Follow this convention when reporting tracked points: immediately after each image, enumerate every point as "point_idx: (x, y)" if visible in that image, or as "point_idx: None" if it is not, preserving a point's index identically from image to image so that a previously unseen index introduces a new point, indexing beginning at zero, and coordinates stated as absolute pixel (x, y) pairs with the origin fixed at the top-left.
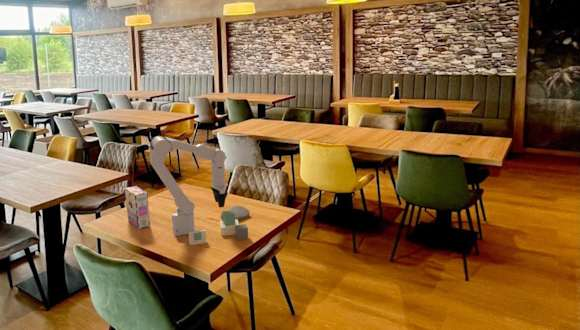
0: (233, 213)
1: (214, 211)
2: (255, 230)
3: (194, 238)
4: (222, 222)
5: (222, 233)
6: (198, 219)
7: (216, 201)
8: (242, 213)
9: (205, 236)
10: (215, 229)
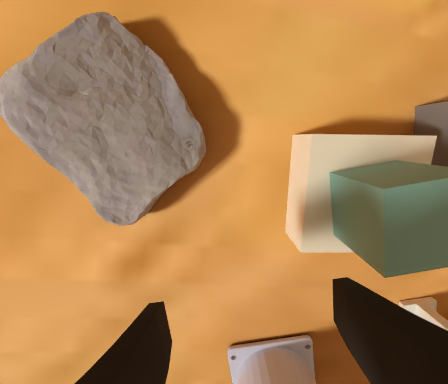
0: None
1: (14, 245)
2: (379, 31)
3: None
4: (331, 237)
5: None
6: None
7: (168, 342)
8: (141, 76)
9: (444, 320)
10: (289, 253)
